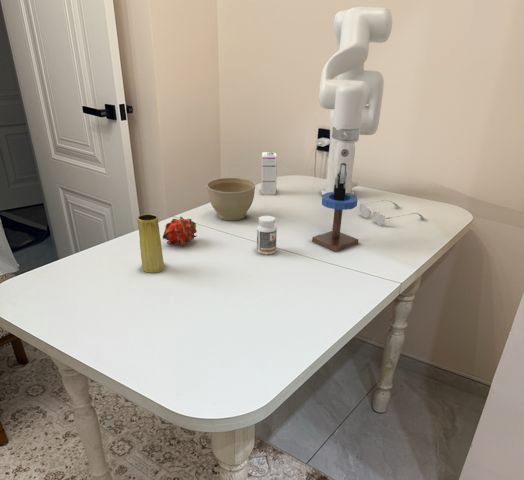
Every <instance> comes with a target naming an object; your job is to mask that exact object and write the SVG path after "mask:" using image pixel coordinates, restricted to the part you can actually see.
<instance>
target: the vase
mask: <svg viewBox="0 0 524 480" xmlns="http://www.w3.org/2000/svg"><path fill="white" fill-rule="evenodd" d="M136 221H137V227H138V233H139V234H138V235H139V251H140V259H141V269H142V271H143V272H145V273H149V274H155V273H160V272H162V271H163V270H164V269H165V266H166V265H165V261H164V256H163V255H164V254H163V248H162V247H163V246H162V240H161V231H160V225H159V217H158V215H156V214H154V213H144V214H140V215H138V216H137V217H136Z"/></svg>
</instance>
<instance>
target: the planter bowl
mask: <svg viewBox="0 0 524 480" xmlns="http://www.w3.org/2000/svg"><path fill="white" fill-rule="evenodd" d="M206 189H207V195H208V200H209V203H210V204H211V206H212V208H213V210H214V211H215V212H216V213H217V217H218V218H219V219H221V220H224V221H241V220H242V219H244V218H245V217H246V215H247V212H248V211H249V210H250V208H251V206H252V204H253V201H254V198H255V191H256V190H255V189H256V183H255V181H253V180H250V179H247V178H241V177H220V178H215V179H212V180H209V181H208V182H207V183H206Z"/></svg>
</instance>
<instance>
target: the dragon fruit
mask: <svg viewBox="0 0 524 480" xmlns="http://www.w3.org/2000/svg"><path fill="white" fill-rule="evenodd" d="M197 232H198V231H197V224H196V222H195V221H192V218H183V216H179V219H177V218H172V219H171V221H170V222H167V223H166V224H165V226H164V231H163V235H162V240H166V244H167V245H168V246H177V245H179V244H182V247H185V246H186V245H187V244H188V243H190V241H192V240H195V238H196V237H198V235H197V234H196V233H197ZM195 234H196V235H195Z"/></svg>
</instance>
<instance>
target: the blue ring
mask: <svg viewBox="0 0 524 480" xmlns="http://www.w3.org/2000/svg"><path fill="white" fill-rule="evenodd" d="M358 201H359V200H358V196H357V195H355V194H354V195H353V194H350V193H345V199H344V201H337V200H334V192H329V193H325V194H324V195H322V194H321V205H322V206H323V207H325V208H326V209H327V208H328V209H332V210H334V209H336V210H343V211H348V210H353V209H355V208H357V206H358Z"/></svg>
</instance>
